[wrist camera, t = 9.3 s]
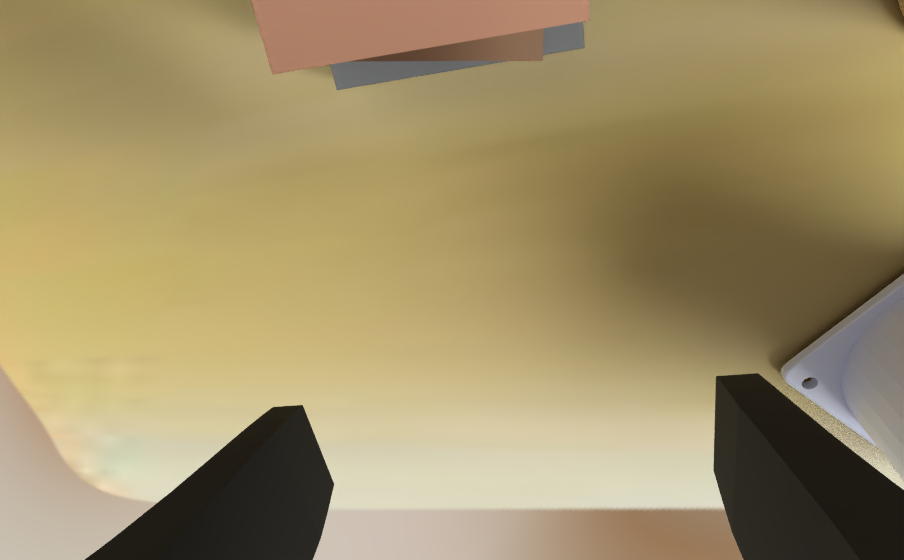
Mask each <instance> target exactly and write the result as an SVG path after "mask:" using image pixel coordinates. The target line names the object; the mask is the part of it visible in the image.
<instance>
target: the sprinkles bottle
mask: <svg viewBox="0 0 904 560" xmlns="http://www.w3.org/2000/svg"><path fill="white" fill-rule="evenodd" d="M898 2H899V7H900V10H901V12H902V14H903V16H904V0H898Z"/></svg>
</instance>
